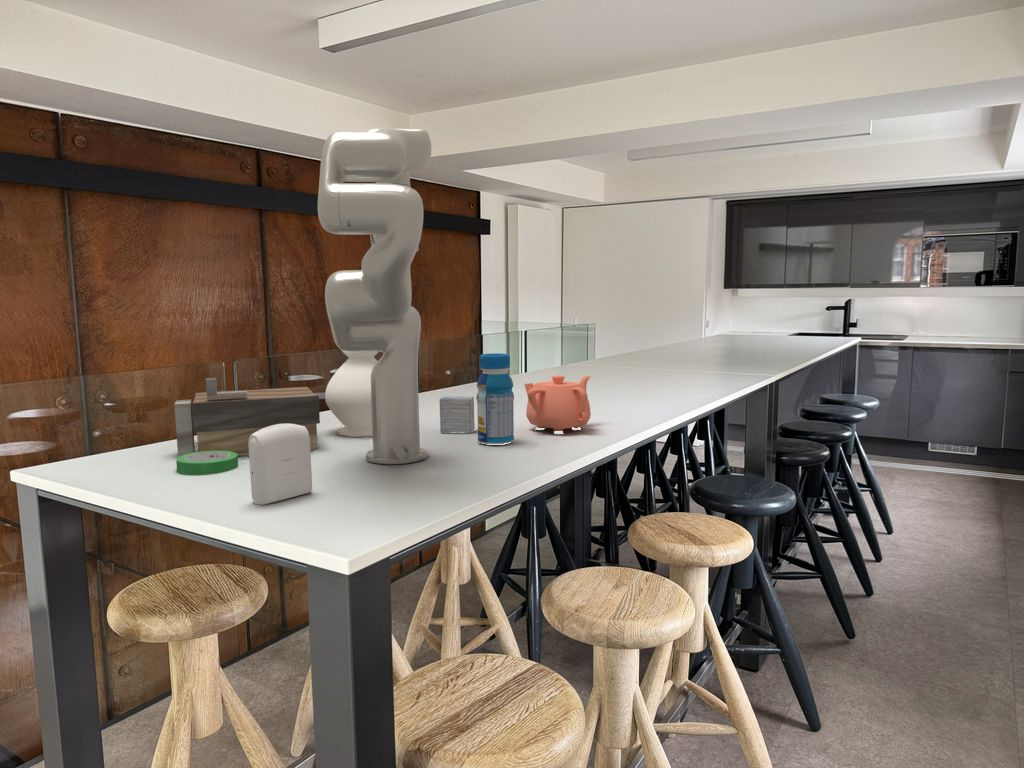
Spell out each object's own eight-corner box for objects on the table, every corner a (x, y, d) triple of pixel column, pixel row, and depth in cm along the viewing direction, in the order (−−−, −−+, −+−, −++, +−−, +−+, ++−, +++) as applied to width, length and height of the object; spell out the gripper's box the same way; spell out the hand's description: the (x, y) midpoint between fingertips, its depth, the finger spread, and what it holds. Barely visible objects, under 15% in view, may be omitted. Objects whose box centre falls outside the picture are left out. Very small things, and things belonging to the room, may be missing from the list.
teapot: (524, 424, 184) (524, 372, 183) (590, 423, 185) (590, 371, 183) (527, 436, 168) (526, 379, 167) (598, 436, 169) (599, 379, 167)
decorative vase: (384, 422, 189) (381, 327, 186) (412, 433, 174) (409, 330, 171) (317, 430, 180) (313, 330, 177) (340, 442, 165) (336, 333, 162)
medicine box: (475, 430, 177) (474, 395, 176) (472, 434, 173) (471, 398, 172) (443, 430, 178) (442, 395, 177) (439, 433, 173) (439, 398, 172)
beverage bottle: (502, 448, 156) (501, 356, 154) (469, 444, 160) (468, 355, 158) (521, 441, 164) (520, 353, 161) (489, 437, 168) (488, 352, 165)
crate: (317, 449, 157) (315, 397, 156) (177, 461, 147) (173, 406, 146) (307, 433, 176) (305, 387, 174) (182, 442, 165) (179, 394, 164)
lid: (319, 423, 155) (318, 395, 154) (193, 432, 146) (191, 403, 145) (308, 408, 176) (307, 384, 175) (197, 415, 167) (195, 390, 166)
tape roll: (250, 465, 144) (249, 452, 144) (208, 478, 134) (207, 464, 133) (208, 461, 148) (207, 448, 148) (164, 473, 138) (163, 459, 138)
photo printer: (261, 507, 114) (257, 430, 113) (247, 502, 117) (243, 427, 115) (316, 493, 122) (313, 421, 120) (302, 489, 125) (298, 419, 123)
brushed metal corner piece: (247, 397, 155) (246, 377, 154) (207, 399, 152) (205, 379, 151) (246, 395, 158) (245, 376, 157) (207, 398, 155) (206, 378, 154)
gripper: (421, 198, 165) (423, 278, 168) (356, 195, 160) (359, 278, 162) (430, 194, 159) (432, 278, 161) (362, 191, 153) (365, 278, 155)
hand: (395, 278), depth 161 cm, fingers closed
